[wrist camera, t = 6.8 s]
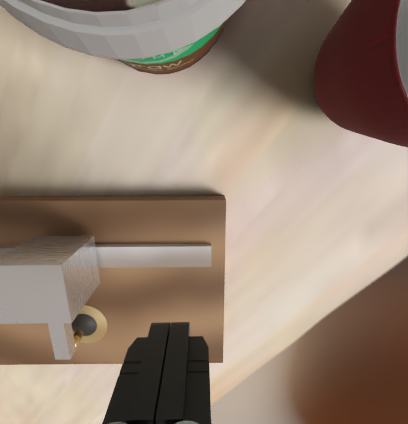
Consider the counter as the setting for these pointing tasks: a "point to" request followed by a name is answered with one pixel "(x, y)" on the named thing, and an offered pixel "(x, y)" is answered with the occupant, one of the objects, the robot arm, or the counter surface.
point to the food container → (130, 28)
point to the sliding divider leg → (49, 286)
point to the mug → (367, 70)
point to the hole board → (126, 270)
